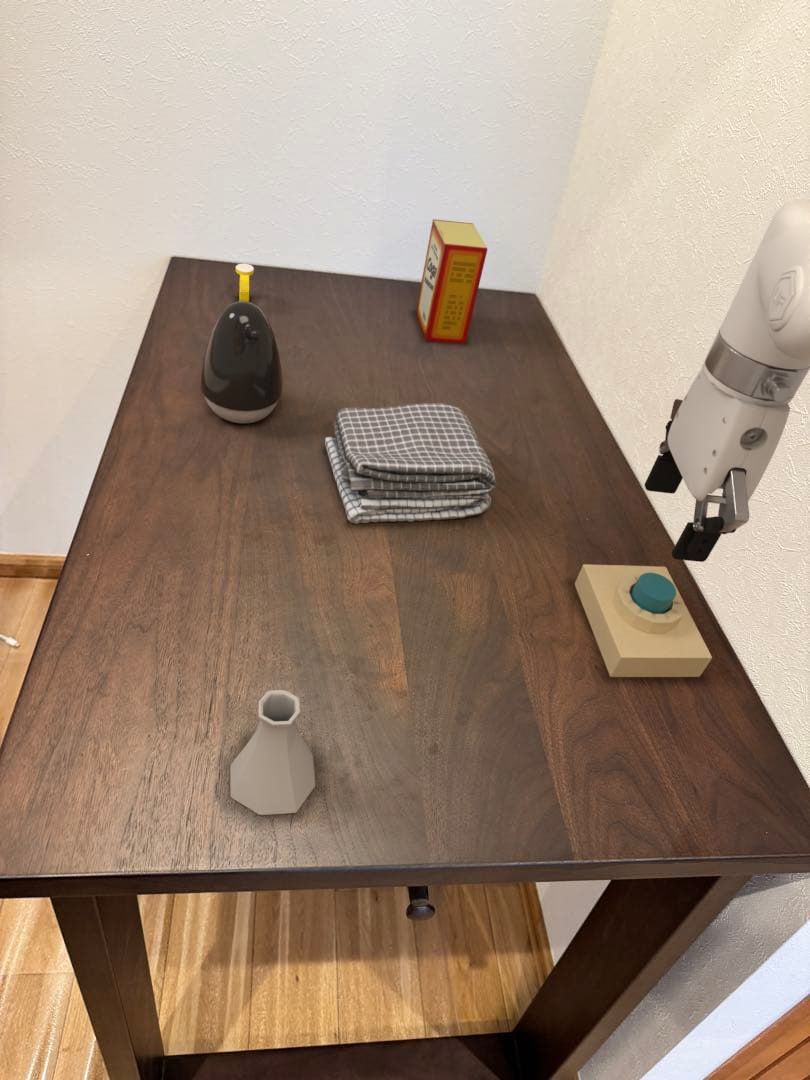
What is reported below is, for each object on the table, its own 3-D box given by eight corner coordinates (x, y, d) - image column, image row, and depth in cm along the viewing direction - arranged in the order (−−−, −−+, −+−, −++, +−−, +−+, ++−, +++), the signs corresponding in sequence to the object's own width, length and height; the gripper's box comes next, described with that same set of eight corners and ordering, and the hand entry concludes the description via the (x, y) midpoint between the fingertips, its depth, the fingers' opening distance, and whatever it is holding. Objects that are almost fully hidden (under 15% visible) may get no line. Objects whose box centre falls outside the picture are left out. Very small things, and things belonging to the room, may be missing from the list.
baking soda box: (415, 312, 132) (433, 216, 121) (453, 315, 133) (473, 221, 122) (426, 341, 125) (445, 242, 114) (465, 343, 126) (488, 246, 116)
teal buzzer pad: (699, 677, 81) (720, 646, 78) (610, 677, 79) (627, 645, 76) (655, 586, 90) (672, 555, 87) (574, 584, 88) (588, 552, 85)
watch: (234, 293, 126) (235, 257, 122) (252, 295, 127) (253, 259, 123) (234, 311, 122) (235, 274, 118) (253, 312, 122) (254, 276, 118)
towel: (491, 521, 94) (507, 469, 89) (341, 525, 89) (349, 471, 84) (457, 445, 105) (469, 395, 100) (321, 445, 100) (327, 393, 95)
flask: (215, 806, 62) (215, 735, 56) (244, 731, 68) (247, 658, 61) (303, 827, 62) (314, 759, 56) (325, 750, 68) (337, 680, 61)
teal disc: (674, 614, 81) (682, 601, 79) (638, 613, 80) (646, 600, 79) (660, 586, 84) (668, 572, 82) (625, 585, 83) (632, 571, 81)
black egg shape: (212, 440, 97) (212, 328, 87) (192, 394, 104) (190, 285, 93) (291, 430, 101) (299, 323, 91) (267, 387, 108) (273, 282, 98)
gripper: (844, 433, 57) (740, 592, 69) (759, 321, 70) (683, 471, 82) (749, 420, 56) (659, 584, 68) (680, 309, 69) (614, 463, 81)
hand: (672, 522), depth 75 cm, fingers open, 9 cm apart
